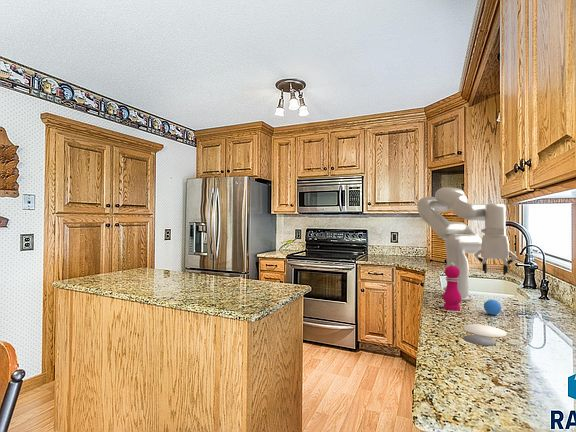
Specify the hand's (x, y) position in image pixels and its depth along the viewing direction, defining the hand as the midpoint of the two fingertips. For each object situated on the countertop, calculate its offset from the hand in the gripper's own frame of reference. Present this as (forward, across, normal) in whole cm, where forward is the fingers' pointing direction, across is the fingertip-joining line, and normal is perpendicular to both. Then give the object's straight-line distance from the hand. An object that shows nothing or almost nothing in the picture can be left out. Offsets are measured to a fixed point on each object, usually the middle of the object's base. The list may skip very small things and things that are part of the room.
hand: (494, 273), depth 141 cm
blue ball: (+13, 0, -10) cm, 16 cm away
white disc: (+16, 0, -35) cm, 38 cm away
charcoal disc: (+16, 0, -46) cm, 49 cm away
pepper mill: (+16, -15, -10) cm, 24 cm away
